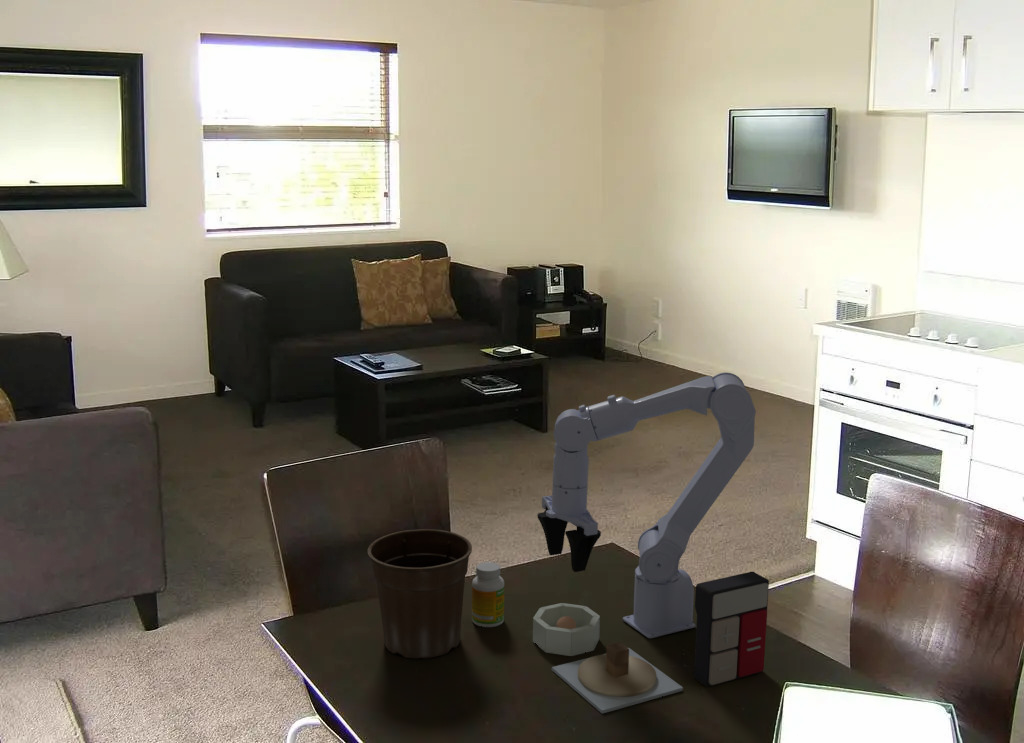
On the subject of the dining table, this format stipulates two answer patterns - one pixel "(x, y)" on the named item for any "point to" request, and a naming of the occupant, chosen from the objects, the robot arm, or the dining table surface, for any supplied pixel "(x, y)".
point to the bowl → (562, 638)
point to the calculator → (730, 627)
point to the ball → (566, 623)
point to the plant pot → (420, 589)
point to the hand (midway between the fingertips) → (566, 562)
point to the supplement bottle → (488, 595)
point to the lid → (617, 673)
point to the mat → (610, 703)
